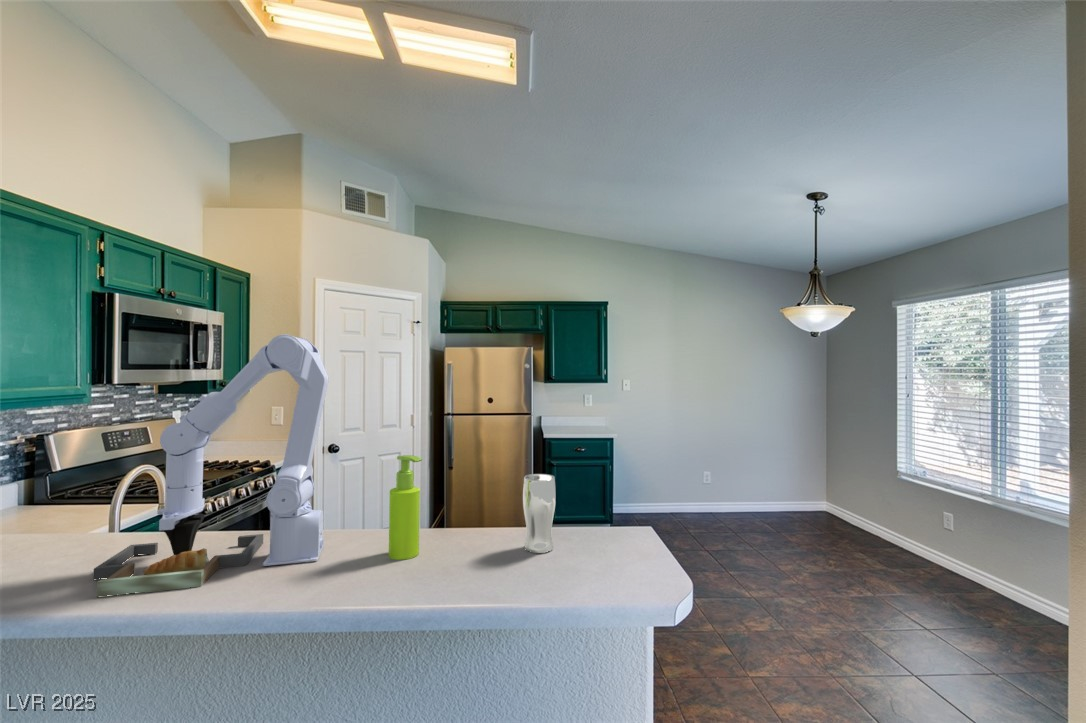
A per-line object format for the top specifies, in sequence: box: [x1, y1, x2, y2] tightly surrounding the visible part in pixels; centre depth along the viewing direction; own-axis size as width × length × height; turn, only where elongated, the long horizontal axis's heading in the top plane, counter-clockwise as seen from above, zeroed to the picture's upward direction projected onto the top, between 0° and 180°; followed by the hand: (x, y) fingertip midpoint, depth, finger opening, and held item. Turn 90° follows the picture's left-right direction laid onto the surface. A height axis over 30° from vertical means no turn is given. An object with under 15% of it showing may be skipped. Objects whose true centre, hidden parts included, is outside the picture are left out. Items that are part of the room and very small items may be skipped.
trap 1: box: [92, 542, 159, 580], centre depth 89 cm, size 4×12×2 cm, turn 17°
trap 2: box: [218, 533, 264, 569], centre depth 95 cm, size 4×12×2 cm, turn 17°
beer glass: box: [522, 473, 556, 554], centre depth 99 cm, size 7×7×15 cm
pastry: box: [143, 548, 210, 575], centre depth 86 cm, size 9×7×4 cm
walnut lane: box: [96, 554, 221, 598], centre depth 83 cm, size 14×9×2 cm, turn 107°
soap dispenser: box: [388, 454, 423, 561], centre depth 95 cm, size 6×7×20 cm
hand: (182, 556), depth 90 cm, fingers closed
